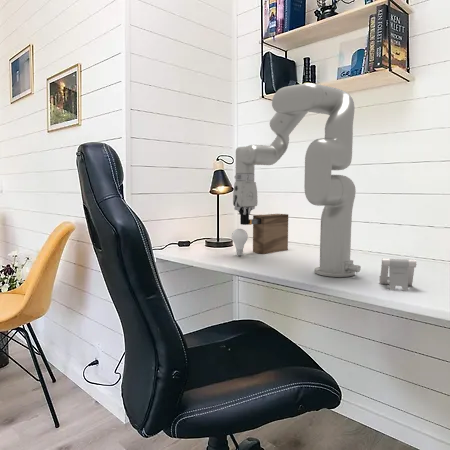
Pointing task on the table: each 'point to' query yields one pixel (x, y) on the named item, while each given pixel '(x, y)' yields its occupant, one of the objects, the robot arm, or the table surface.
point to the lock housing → (270, 233)
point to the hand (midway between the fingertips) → (244, 224)
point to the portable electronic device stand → (397, 273)
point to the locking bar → (254, 221)
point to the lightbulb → (239, 240)
